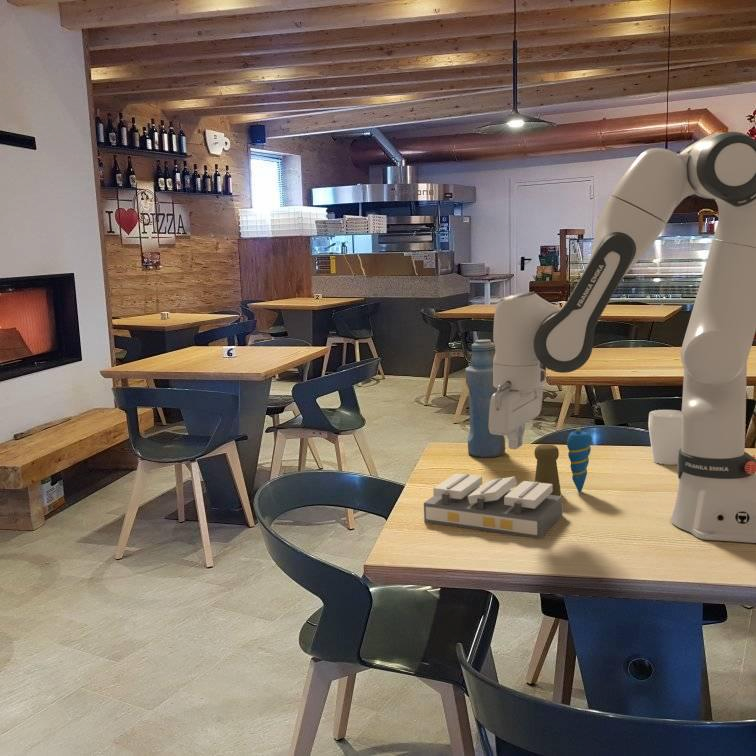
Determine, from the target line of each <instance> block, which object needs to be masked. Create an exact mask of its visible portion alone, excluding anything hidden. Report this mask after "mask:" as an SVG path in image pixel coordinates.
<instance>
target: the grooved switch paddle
mask: <svg viewBox="0 0 756 756" xmlns="http://www.w3.org/2000/svg"><path fill="white" fill-rule="evenodd" d="M482 485H483V476H482V475H475V474H474V475H473V474H469V473H466V474H464V473H453V474H452V475H451V476H450V477H448V478H446V479H445V480H444V481H442V482H440V483H439V484H437V485H435V487H433V488H432V490H433V491H432V492H433V496H440V497H442V493H447V494H449V498H455V499H462V498H463V497H465V496H466V495H468V494H469V493H470V492H472V491H473V490H474V489H476V488H477V487H478V486H480V487H481V486H482Z"/></svg>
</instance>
